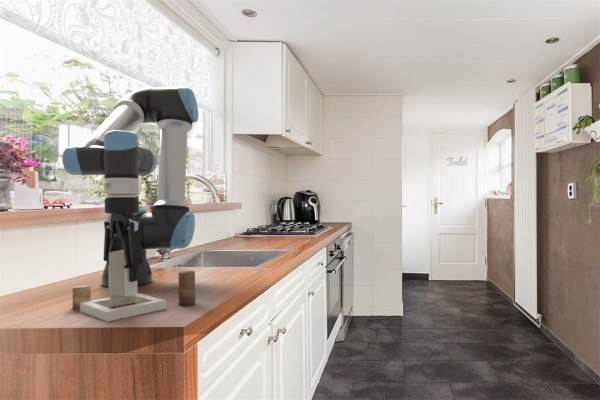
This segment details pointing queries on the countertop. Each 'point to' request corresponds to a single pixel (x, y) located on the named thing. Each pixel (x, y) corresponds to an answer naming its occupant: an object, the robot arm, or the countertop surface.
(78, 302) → the short oak dowel
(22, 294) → the countertop surface
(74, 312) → the countertop surface
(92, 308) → the white square frame
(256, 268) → the countertop surface
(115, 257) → the skincare box
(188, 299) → the mid walnut dowel
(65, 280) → the countertop surface
